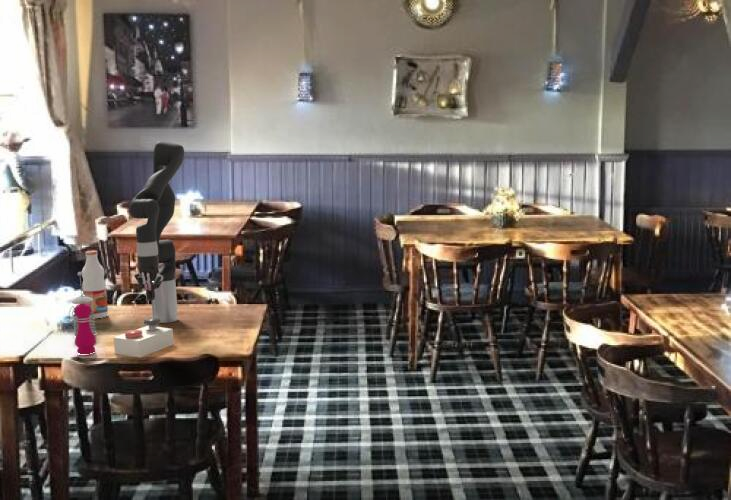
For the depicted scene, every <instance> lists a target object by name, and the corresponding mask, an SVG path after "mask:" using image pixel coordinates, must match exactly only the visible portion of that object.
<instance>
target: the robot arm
mask: <svg viewBox="0 0 731 500" xmlns="http://www.w3.org/2000/svg"><path fill="white" fill-rule="evenodd" d="M152 158H153V159H152V161H153V162H152V163H153V167H152V169H153V171H152V173H153V174H152V175H150V176H149V177H148V179H147V180H146V182H145V184H144V186H143V188H142V190H140V192H138V193H137V195H135V196H134V197H133V198H132V199H131V201H130V204H129V206H128V212H129V215H130V217H132V218H134V219H137V220H139V219H140V220H141V219H143V220H145V219H147V221H146V223H145V224H141V225H138V226H136V228H135V235H136V236H135V237H136V257H137V259H136V260H137V267H138V268H139V269H138V273H136V274H134V278H135V280H136V281H137V283H138V284H139V286H140V288H141V289H144V290H145V294H146V300H147V301H151V308H152V309H151V310H152V311H151V312H152V318H160V320H161V323H160V324H167V323H173V322H177V321H178V320H179V315H178V302H177V301H178V300H177V299H178V298H177V287H176V269H177V267H176V248H175V244H174V242H173V241H172V240H171V239H160V238H161V236H162V234H163V231H164V229H165V228H166V227H167V226H168V224H169V223H170V221H171V220H172V218H173V216H174V213H175V205H176V196H175V193H174V191H173V189H172V187H171V185H170V181H171V180H172V178H173V177H174V176H175V175H176V173H177V171H179V169H180V168H181V166H182V164H183V161H184V158H185V148H184V146H183V145H182V144H181V145H180V144H178V143H172V142H167V141H161V140H160V141H159V140H158V141H157V142H156V143H155V145H154V147H153V157H152ZM160 264H162V265H161V267H159V266H160Z"/></svg>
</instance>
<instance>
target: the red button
mask: <svg viewBox="0 0 731 500" xmlns="http://www.w3.org/2000/svg"><path fill="white" fill-rule="evenodd" d="M124 334H125V337H126V338H137V337H141V336H142V331H141V330H137V329H131V330H130V329H129V330H127V331H125V332H124Z"/></svg>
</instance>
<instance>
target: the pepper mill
mask: <svg viewBox="0 0 731 500" xmlns="http://www.w3.org/2000/svg"><path fill="white" fill-rule="evenodd" d="M84 303H85V301H84V300H80V304H76V305H75V306H74V308H75V309H74V308H73V309H74V311H73V315H74V314H75V315H76V316H77V317H76V319H77V320H76V321H77V322H78V323H77V324H78V326H77V328H78V333H77V335H76V338H75V340H74V344H75V346H76V347H77V351H76V353H77V352H78V353H80V354H90V353H93V352H95V353H96V348H95V344H96V343H97V339H96V336H94V334H93V332H92V331H91V328H90V320H91V319H90V318H91V317H90V314H91V311H92V310H91V307H90V306H89V305H88V304H84Z"/></svg>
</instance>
